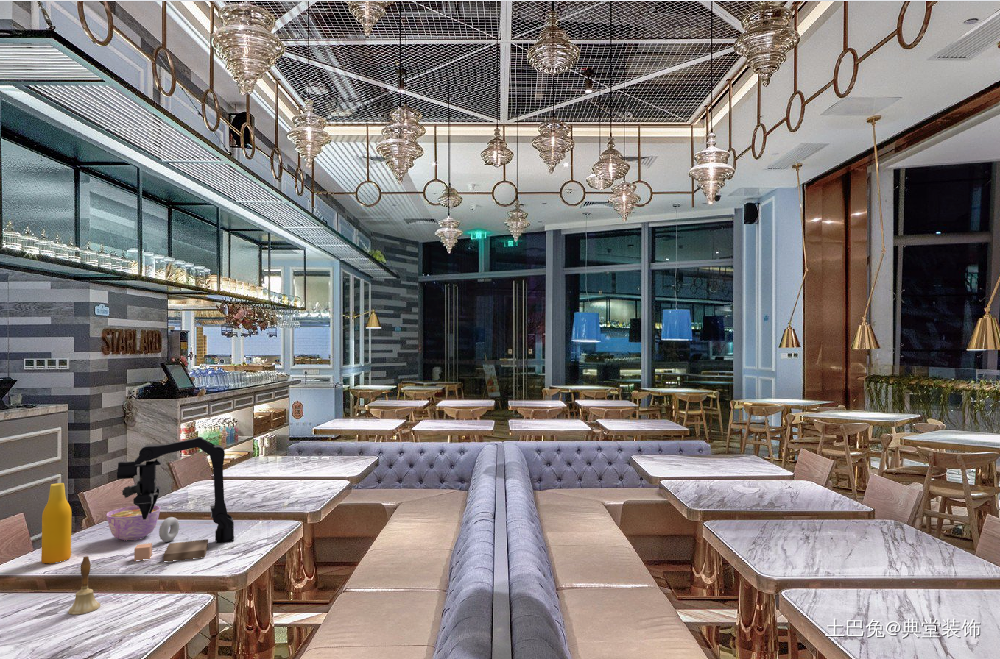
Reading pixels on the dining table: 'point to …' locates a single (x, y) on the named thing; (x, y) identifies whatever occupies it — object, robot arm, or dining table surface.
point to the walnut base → (186, 550)
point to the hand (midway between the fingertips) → (147, 516)
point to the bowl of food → (131, 522)
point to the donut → (164, 529)
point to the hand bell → (84, 593)
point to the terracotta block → (143, 551)
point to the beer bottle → (56, 526)
